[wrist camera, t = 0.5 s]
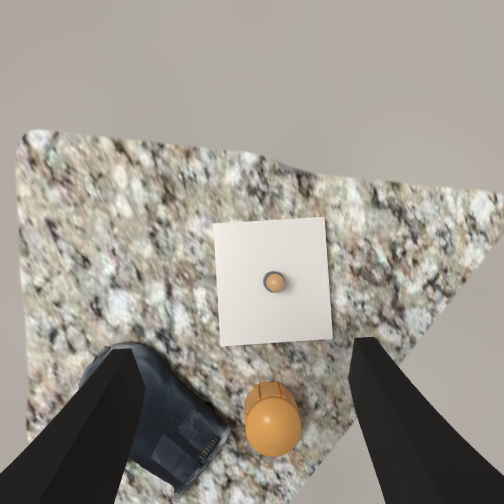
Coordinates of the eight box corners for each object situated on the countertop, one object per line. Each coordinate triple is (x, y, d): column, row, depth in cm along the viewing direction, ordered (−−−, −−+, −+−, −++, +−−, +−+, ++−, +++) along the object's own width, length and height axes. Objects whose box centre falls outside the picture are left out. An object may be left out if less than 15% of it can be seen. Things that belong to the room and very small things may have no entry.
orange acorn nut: (295, 429, 34) (303, 454, 30) (247, 432, 34) (247, 458, 30) (292, 380, 35) (299, 398, 30) (244, 383, 34) (244, 402, 30)
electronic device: (237, 404, 36) (124, 321, 34) (237, 441, 31) (102, 345, 28) (184, 464, 37) (70, 387, 35) (175, 510, 32) (39, 422, 29)
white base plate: (327, 334, 35) (341, 346, 30) (222, 341, 34) (218, 355, 29) (319, 219, 35) (332, 212, 30) (215, 226, 35) (210, 220, 30)
